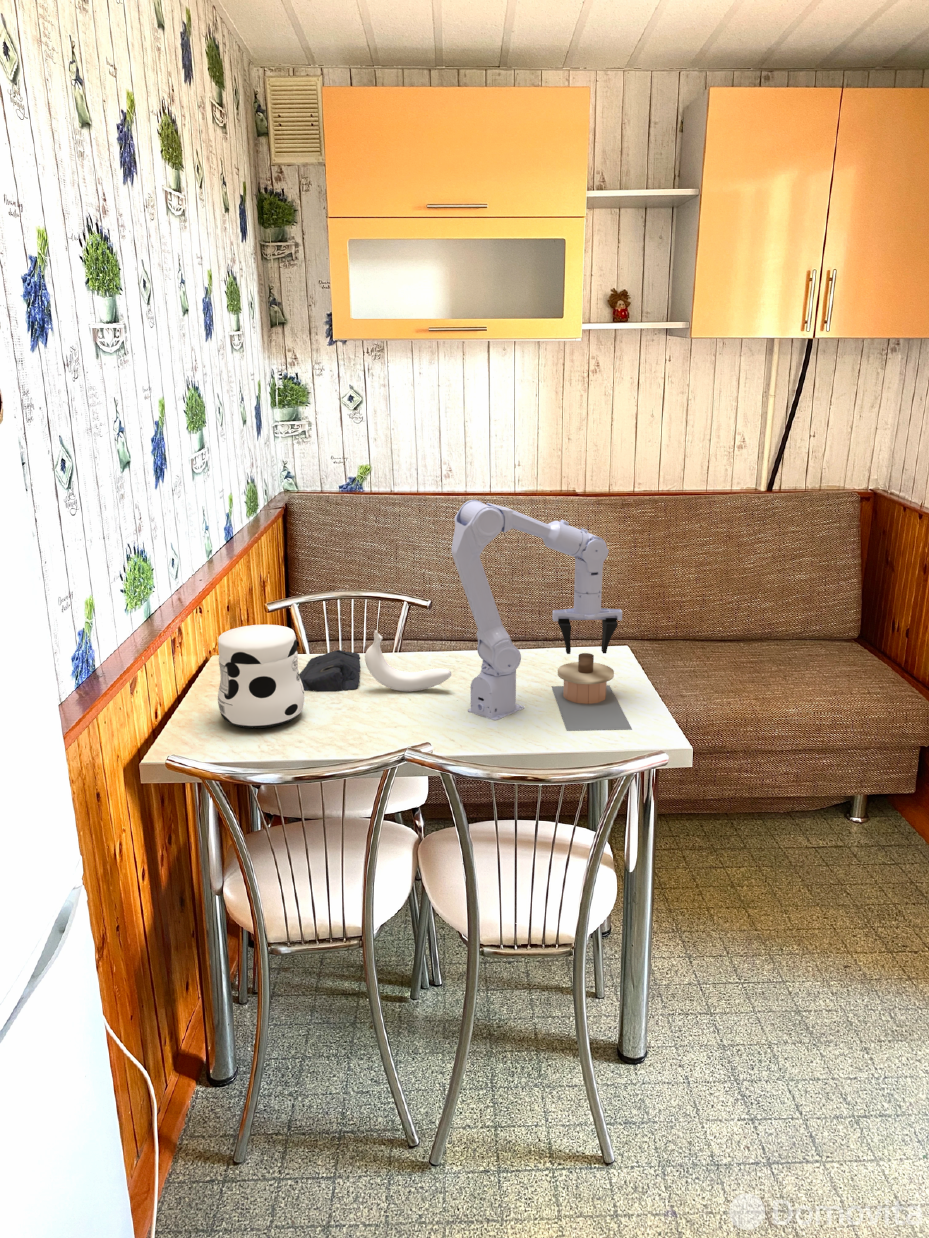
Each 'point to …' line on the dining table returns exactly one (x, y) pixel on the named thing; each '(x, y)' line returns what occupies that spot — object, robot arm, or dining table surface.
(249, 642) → the milk container
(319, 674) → the dark slate chunk
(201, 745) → the dining table surface
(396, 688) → the banana
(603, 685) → the bowl
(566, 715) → the mat
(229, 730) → the dining table surface
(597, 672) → the lid
